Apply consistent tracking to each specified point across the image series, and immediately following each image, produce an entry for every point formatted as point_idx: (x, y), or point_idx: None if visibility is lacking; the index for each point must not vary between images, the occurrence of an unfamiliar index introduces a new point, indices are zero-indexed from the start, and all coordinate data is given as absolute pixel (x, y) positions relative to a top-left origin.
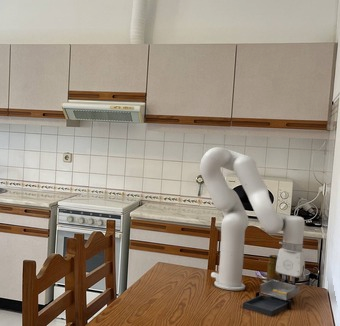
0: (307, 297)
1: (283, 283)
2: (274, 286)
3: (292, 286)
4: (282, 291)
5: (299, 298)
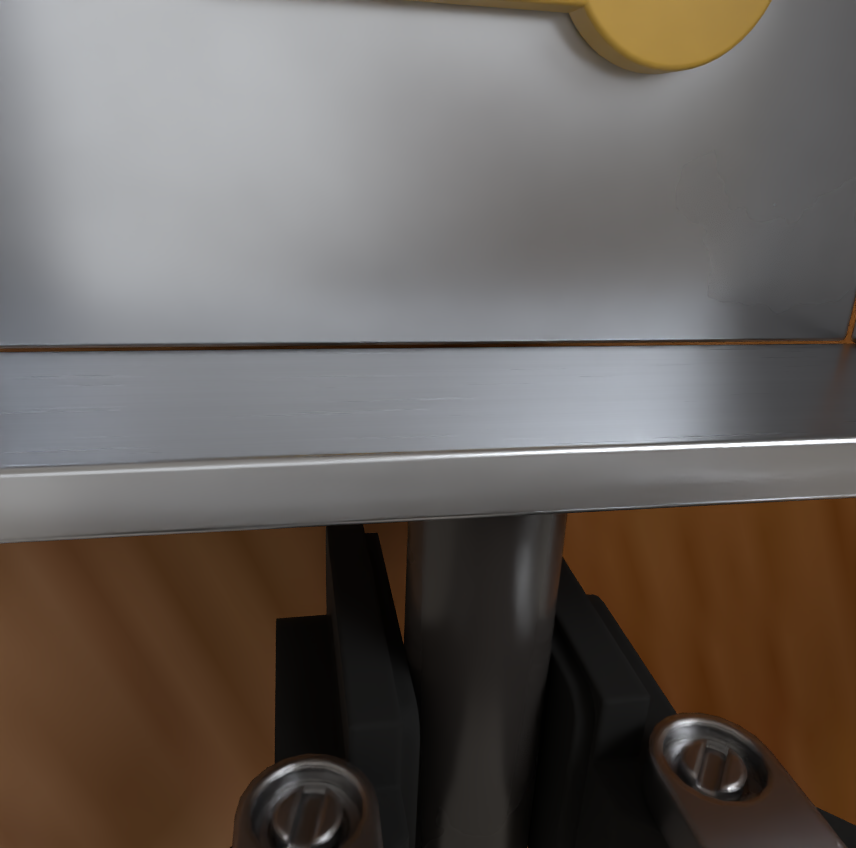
0: (132, 828)
1: (596, 435)
2: (809, 358)
3: (135, 434)
4: (465, 180)
5: (198, 648)
